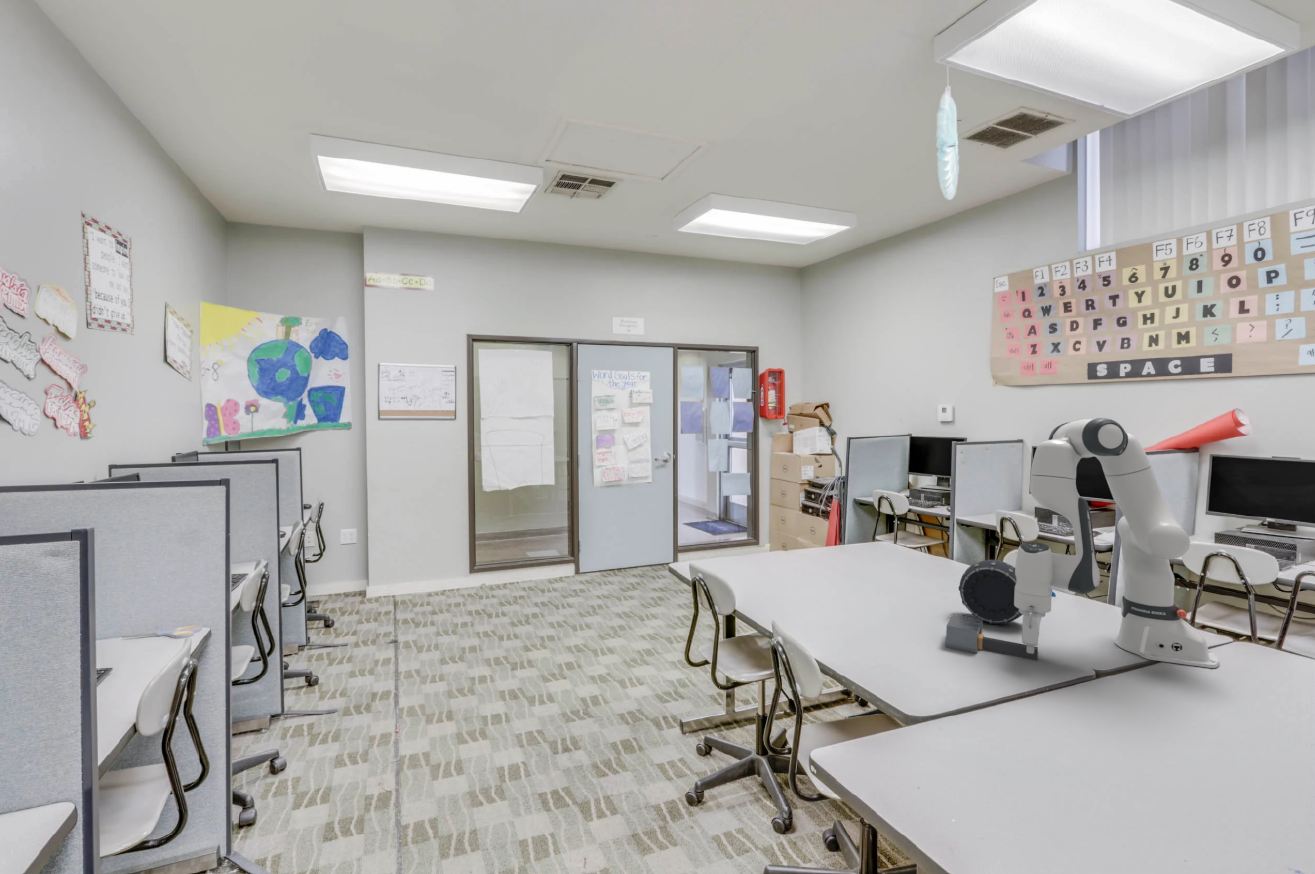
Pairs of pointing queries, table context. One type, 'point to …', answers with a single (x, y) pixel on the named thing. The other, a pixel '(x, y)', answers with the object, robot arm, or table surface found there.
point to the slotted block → (963, 633)
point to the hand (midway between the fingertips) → (1030, 650)
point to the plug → (1006, 647)
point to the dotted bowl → (990, 591)
